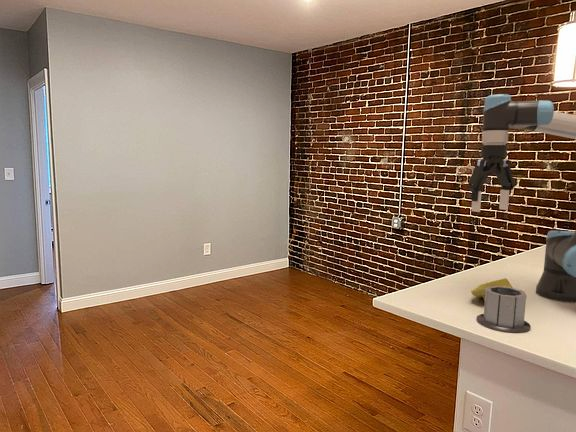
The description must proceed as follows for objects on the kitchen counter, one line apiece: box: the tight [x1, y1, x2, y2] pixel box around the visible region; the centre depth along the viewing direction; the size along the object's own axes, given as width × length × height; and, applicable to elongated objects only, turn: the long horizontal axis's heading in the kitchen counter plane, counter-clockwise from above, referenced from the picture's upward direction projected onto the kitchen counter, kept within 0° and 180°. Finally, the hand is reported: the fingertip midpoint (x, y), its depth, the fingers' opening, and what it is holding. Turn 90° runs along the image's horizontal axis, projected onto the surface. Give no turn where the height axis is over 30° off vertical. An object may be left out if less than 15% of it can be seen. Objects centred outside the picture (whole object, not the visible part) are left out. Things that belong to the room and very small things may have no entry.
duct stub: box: [475, 313, 532, 334], centre depth 125 cm, size 14×14×6 cm
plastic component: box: [470, 278, 514, 302], centre depth 146 cm, size 20×7×10 cm
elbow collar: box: [483, 286, 527, 329], centre depth 125 cm, size 10×10×9 cm
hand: (489, 210), depth 143 cm, fingers open, 13 cm apart
